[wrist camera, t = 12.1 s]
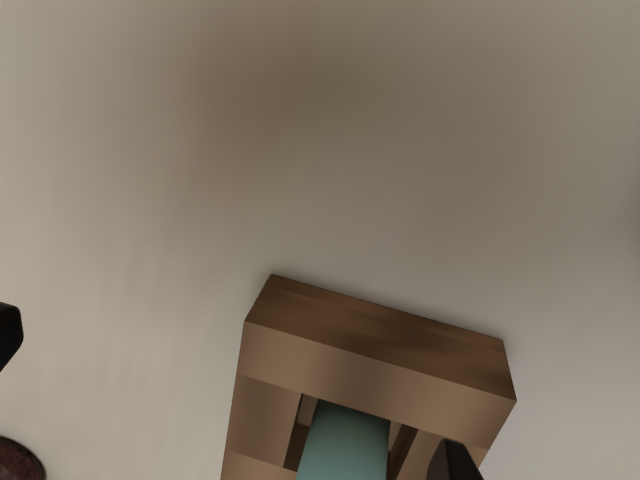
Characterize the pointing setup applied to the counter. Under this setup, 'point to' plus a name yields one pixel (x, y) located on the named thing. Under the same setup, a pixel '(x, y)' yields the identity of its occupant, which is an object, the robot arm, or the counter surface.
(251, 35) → the counter surface
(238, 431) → the socket block
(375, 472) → the pin
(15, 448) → the can
